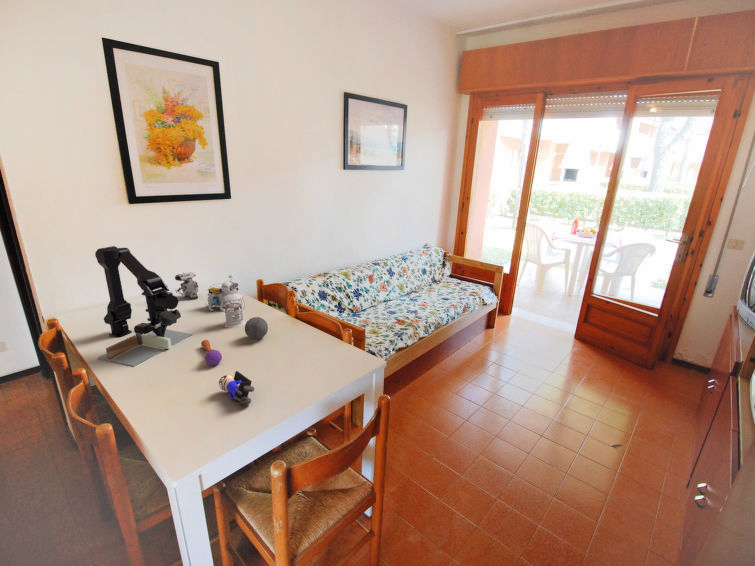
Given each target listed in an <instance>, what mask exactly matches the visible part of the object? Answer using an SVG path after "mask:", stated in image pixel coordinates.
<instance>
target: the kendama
mask: <svg viewBox="0 0 755 566" xmlns="http://www.w3.org/2000/svg"><path fill="white" fill-rule="evenodd" d="M200 345H201V347H202V348H203V349H204V350H206V351H207V352H206V353H205V356H204V361H205V363H206V364H207V365H209V366H217V365H218V364H220V363H221V362H222V358H223V356H222V353H221V352H220V350H218V349H212V348H211V343H210V340H209V339H204V340H202V341H201V343H200Z"/></svg>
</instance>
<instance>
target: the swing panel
mask: <svg viewBox="0 0 755 566" xmlns="http://www.w3.org/2000/svg"><path fill="white" fill-rule="evenodd" d="M148 334H149V333H148ZM148 334H143V335H141V336H142V342H143V344H144V345H150V346H156V347H162V348H167V349H170V348H172V346H171V340H170V338H166V337H160V336H154V335H148ZM167 349H166V350H167Z"/></svg>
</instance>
